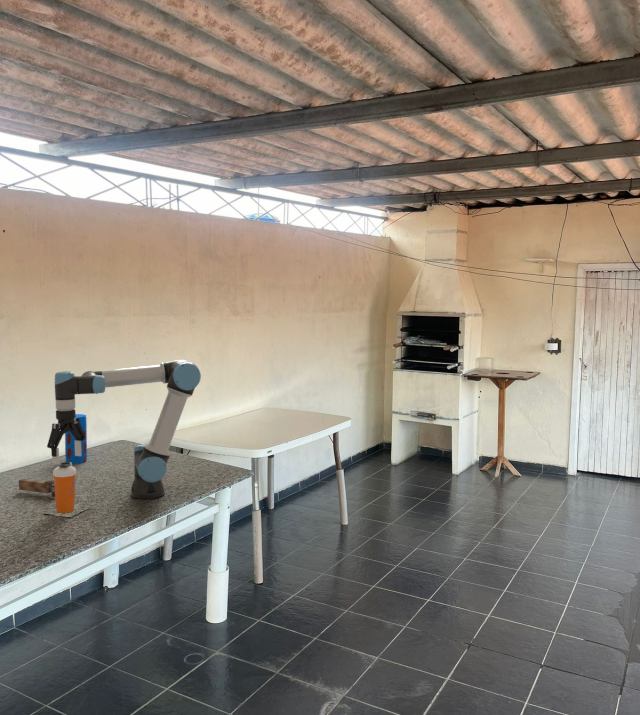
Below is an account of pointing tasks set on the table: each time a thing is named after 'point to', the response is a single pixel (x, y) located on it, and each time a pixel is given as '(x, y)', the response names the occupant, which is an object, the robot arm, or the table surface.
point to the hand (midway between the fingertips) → (67, 459)
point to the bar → (36, 485)
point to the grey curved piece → (52, 492)
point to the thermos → (71, 443)
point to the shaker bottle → (64, 487)
